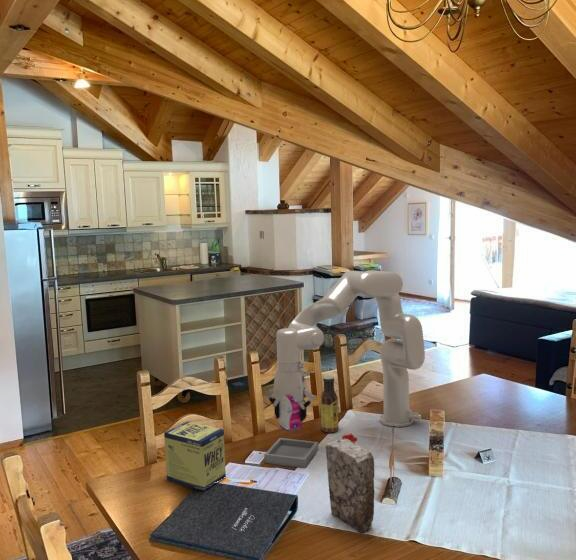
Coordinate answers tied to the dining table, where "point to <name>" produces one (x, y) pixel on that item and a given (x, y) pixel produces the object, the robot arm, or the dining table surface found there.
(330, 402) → the sauce bottle
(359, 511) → the stone block
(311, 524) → the dining table surface
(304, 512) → the dining table surface
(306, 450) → the slate tray
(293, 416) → the supplement box
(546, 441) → the dining table surface
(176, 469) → the protein box
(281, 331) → the robot arm
